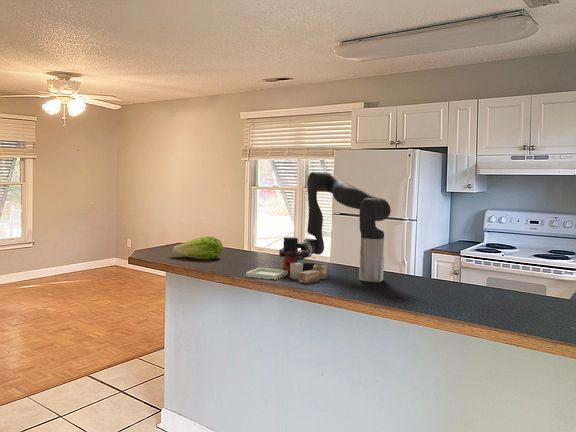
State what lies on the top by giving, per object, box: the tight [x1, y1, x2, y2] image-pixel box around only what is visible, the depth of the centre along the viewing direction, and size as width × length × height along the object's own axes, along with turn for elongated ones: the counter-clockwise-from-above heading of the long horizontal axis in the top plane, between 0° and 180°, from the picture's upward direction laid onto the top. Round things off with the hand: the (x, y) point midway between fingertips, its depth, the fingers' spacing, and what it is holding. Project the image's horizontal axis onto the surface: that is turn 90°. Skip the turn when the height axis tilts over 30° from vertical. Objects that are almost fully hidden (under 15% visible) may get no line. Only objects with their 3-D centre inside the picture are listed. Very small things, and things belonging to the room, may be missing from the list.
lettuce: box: [172, 236, 224, 260], centre depth 238 cm, size 12×24×13 cm
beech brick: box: [298, 269, 320, 284], centre depth 190 cm, size 4×8×4 cm, turn 141°
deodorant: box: [282, 236, 299, 275], centre depth 205 cm, size 6×6×15 cm
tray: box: [245, 267, 289, 281], centre depth 198 cm, size 13×13×2 cm
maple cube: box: [312, 263, 328, 280], centre depth 199 cm, size 5×5×5 cm
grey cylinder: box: [289, 262, 304, 280], centre depth 195 cm, size 5×5×6 cm
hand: (288, 255), depth 203 cm, fingers closed on deodorant, 6 cm apart
